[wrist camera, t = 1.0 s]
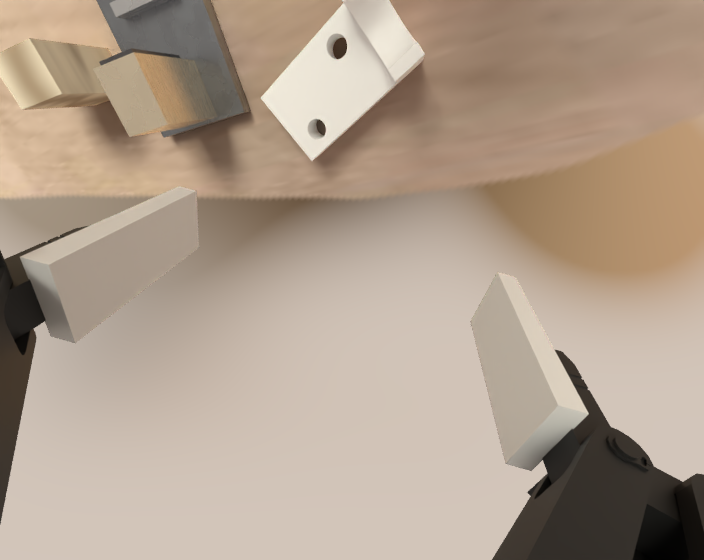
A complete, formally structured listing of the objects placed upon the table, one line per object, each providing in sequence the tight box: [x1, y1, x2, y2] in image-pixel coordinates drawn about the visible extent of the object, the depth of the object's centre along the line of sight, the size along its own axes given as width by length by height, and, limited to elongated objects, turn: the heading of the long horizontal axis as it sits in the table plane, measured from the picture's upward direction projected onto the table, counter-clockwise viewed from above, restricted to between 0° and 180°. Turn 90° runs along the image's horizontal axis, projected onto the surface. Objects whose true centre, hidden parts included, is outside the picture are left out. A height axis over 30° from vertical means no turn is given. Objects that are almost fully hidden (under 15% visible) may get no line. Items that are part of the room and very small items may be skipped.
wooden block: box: [0, 38, 112, 110], centre depth 31 cm, size 5×4×8 cm
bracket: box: [261, 0, 425, 161], centre depth 28 cm, size 13×7×8 cm, turn 130°
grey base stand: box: [93, 0, 250, 137], centre depth 27 cm, size 19×10×10 cm, turn 15°
